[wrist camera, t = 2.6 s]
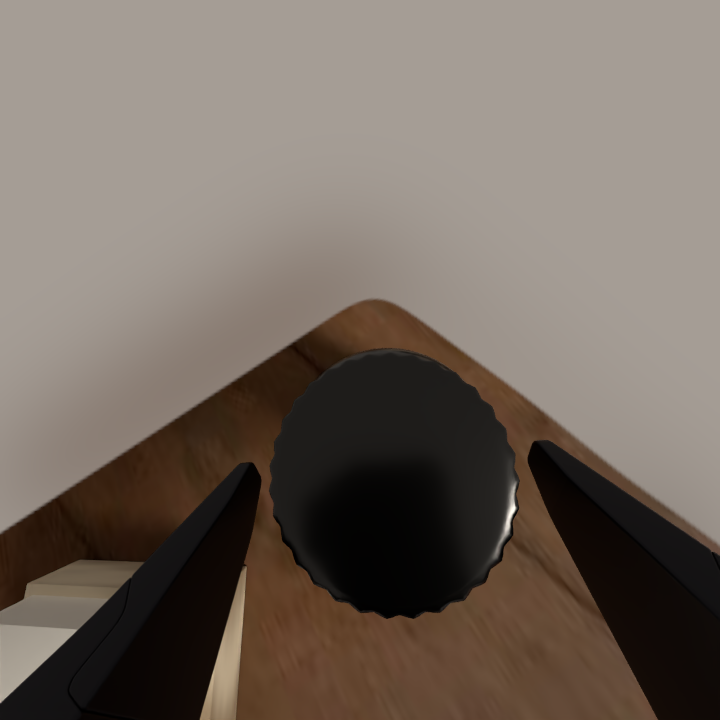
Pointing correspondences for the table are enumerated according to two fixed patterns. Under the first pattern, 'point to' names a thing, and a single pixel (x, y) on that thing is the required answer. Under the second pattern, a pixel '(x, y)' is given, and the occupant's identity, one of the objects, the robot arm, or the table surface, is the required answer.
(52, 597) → the top slab
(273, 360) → the table surface
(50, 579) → the bottom slab
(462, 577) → the supplement bottle
